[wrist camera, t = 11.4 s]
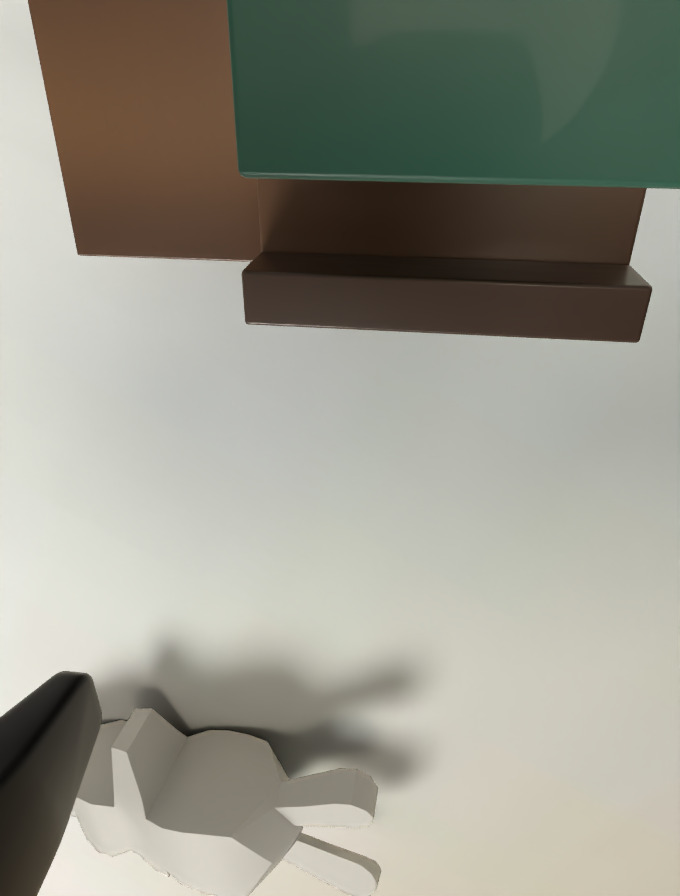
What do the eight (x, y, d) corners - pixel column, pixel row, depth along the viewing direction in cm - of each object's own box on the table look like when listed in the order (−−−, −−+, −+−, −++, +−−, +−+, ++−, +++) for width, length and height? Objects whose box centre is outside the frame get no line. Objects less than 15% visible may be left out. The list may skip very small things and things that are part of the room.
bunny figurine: (2, 758, 26) (360, 838, 23) (75, 661, 31) (387, 716, 27) (63, 881, 31) (369, 964, 27) (119, 783, 35) (390, 843, 32)
